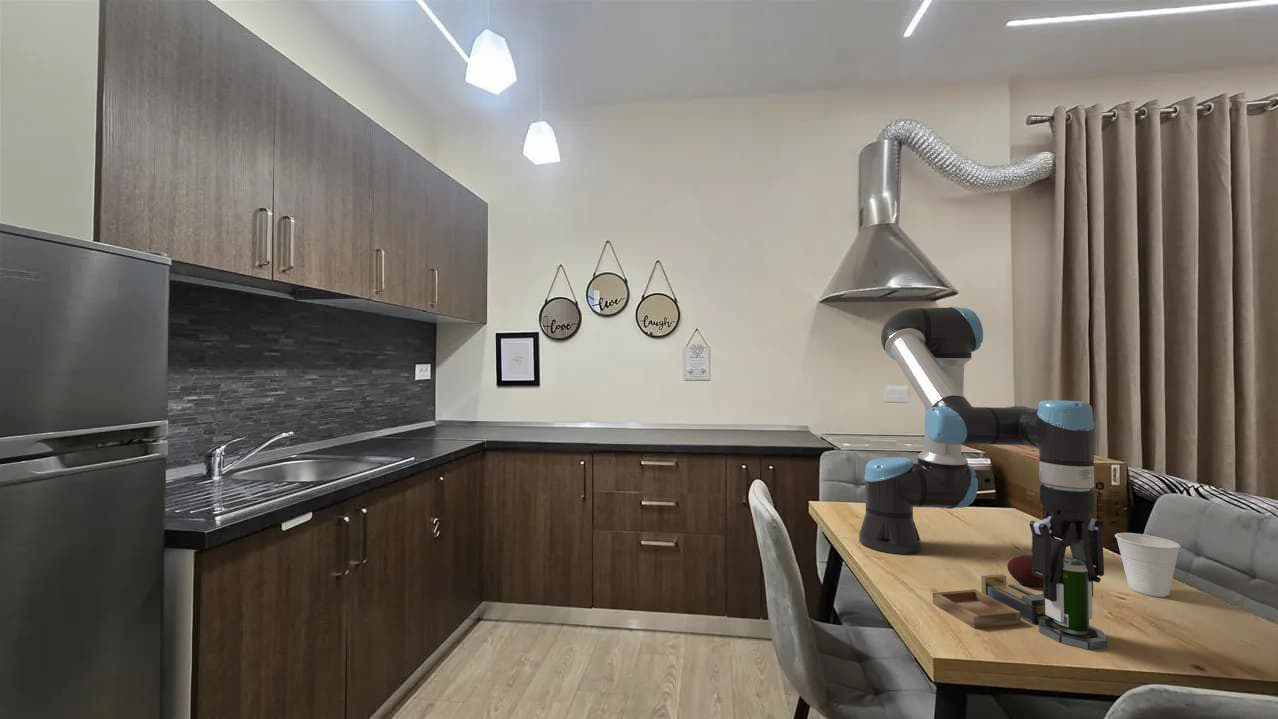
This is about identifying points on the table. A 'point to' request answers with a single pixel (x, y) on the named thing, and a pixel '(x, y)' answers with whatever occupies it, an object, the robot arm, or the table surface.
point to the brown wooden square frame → (976, 608)
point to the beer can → (1074, 597)
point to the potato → (1023, 570)
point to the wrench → (1045, 618)
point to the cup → (1148, 562)
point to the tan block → (1006, 589)
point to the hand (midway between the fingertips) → (1068, 616)
